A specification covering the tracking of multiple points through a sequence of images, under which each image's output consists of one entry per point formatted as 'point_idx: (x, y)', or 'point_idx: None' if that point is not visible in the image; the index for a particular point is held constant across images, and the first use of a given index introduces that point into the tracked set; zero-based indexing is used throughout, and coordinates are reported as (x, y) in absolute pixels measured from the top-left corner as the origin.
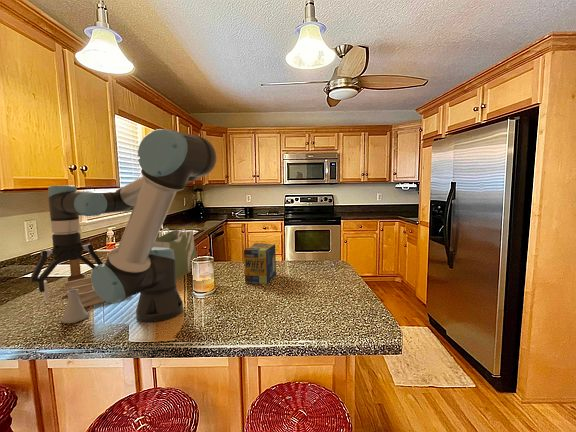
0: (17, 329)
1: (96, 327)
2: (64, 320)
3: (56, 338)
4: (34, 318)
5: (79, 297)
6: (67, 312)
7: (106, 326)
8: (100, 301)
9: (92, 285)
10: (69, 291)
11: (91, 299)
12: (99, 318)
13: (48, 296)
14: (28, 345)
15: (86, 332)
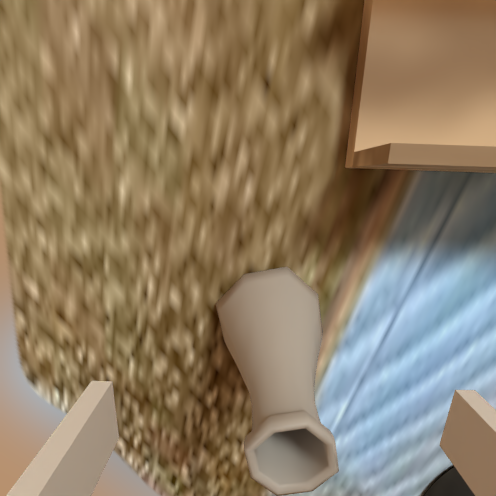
0: (52, 226)
1: None
2: (223, 332)
3: (170, 442)
4: (124, 121)
5: (375, 156)
6: (235, 361)
7: None
8: (458, 171)
9: (482, 426)
10: (274, 426)
11: (427, 168)
12: (339, 389)
13: (96, 483)
14: None
15: None
